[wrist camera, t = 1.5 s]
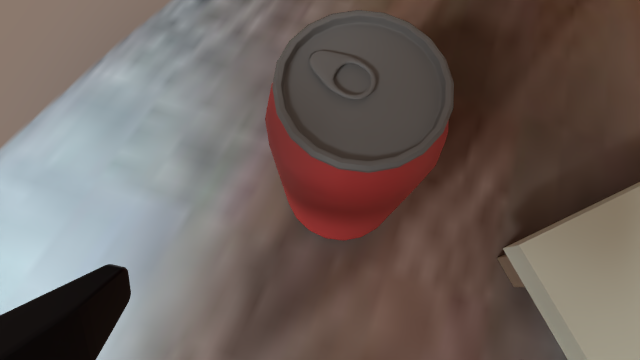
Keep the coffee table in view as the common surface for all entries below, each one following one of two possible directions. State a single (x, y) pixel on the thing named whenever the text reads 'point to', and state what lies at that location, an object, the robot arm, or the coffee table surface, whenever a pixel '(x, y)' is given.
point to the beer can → (356, 119)
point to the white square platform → (586, 277)
